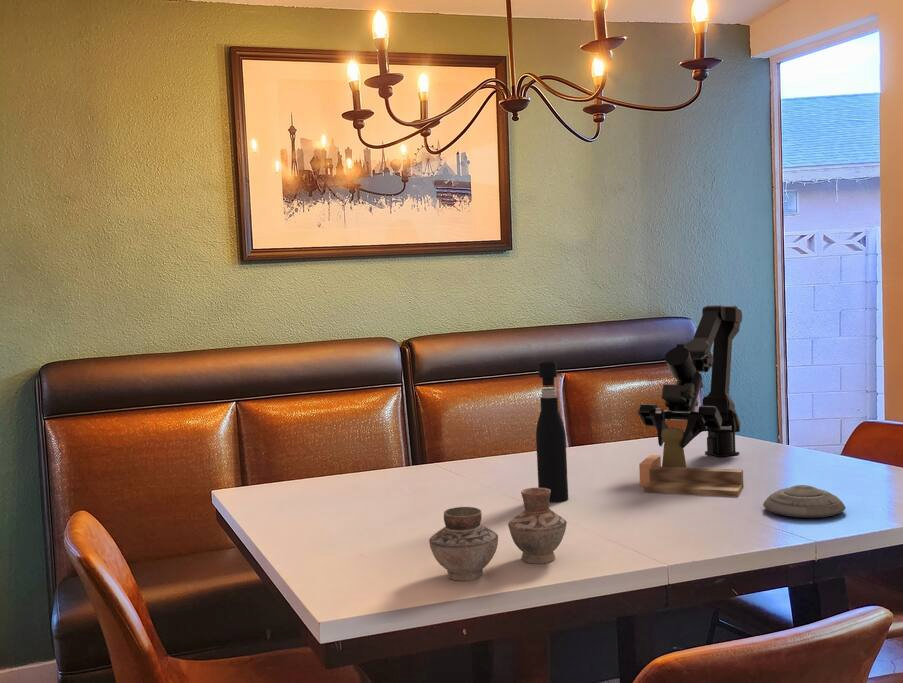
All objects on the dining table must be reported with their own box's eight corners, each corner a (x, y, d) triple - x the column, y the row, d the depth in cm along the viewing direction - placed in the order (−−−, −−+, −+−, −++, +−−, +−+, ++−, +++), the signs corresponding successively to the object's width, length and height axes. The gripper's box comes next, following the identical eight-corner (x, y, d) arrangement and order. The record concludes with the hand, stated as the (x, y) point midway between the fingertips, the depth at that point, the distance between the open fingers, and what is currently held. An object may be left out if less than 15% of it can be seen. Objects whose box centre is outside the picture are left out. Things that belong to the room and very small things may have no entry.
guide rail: (748, 479, 207) (747, 457, 207) (738, 496, 192) (737, 473, 191) (650, 475, 216) (649, 454, 216) (633, 491, 201) (632, 469, 201)
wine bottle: (533, 498, 200) (527, 362, 198) (559, 494, 202) (553, 360, 200) (547, 504, 194) (541, 364, 192) (573, 500, 196) (567, 361, 194)
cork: (657, 473, 213) (655, 427, 212) (682, 471, 213) (680, 425, 213) (666, 478, 207) (664, 431, 206) (691, 476, 207) (689, 429, 207)
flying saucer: (784, 500, 188) (783, 474, 187) (858, 510, 177) (857, 482, 177) (749, 515, 177) (748, 487, 177) (825, 527, 167) (824, 497, 166)
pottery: (581, 561, 153) (578, 491, 152) (452, 592, 141) (448, 516, 140) (543, 546, 163) (540, 480, 162) (419, 574, 151) (415, 503, 150)
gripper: (639, 370, 217) (621, 423, 209) (716, 371, 207) (701, 427, 198) (653, 398, 224) (637, 451, 216) (728, 400, 214) (714, 456, 205)
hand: (671, 446), depth 209 cm, fingers closed on cork, 5 cm apart
